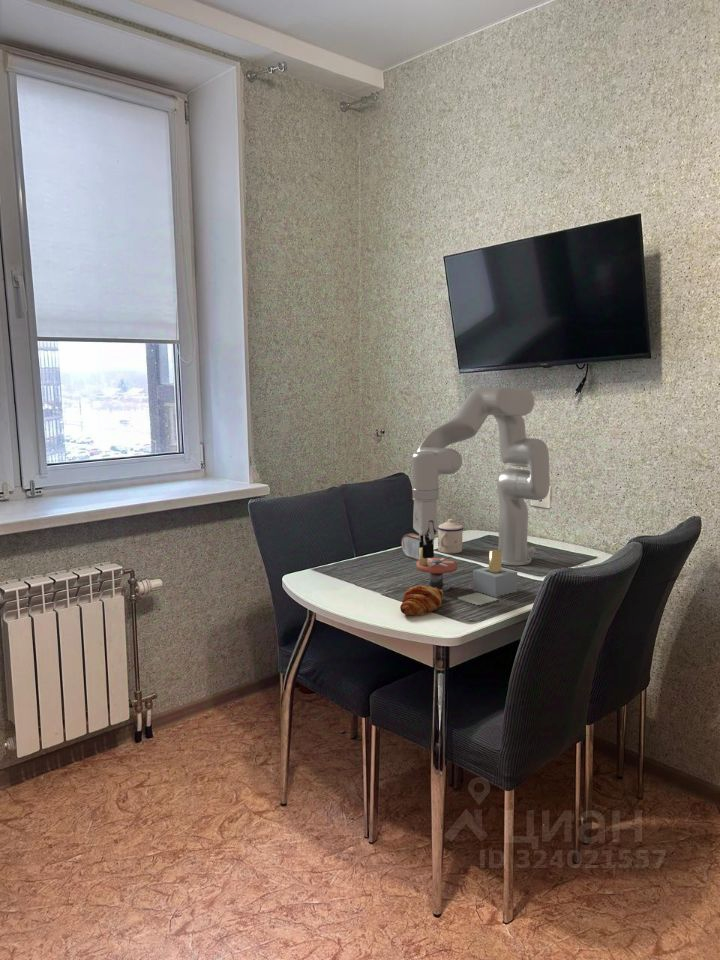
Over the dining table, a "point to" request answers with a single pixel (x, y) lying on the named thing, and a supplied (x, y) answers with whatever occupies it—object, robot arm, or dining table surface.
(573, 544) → the dining table surface
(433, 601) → the croissant
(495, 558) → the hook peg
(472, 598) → the sage mat
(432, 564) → the handwheel
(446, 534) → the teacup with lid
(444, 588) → the wheel post
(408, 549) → the tin
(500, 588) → the eye block
